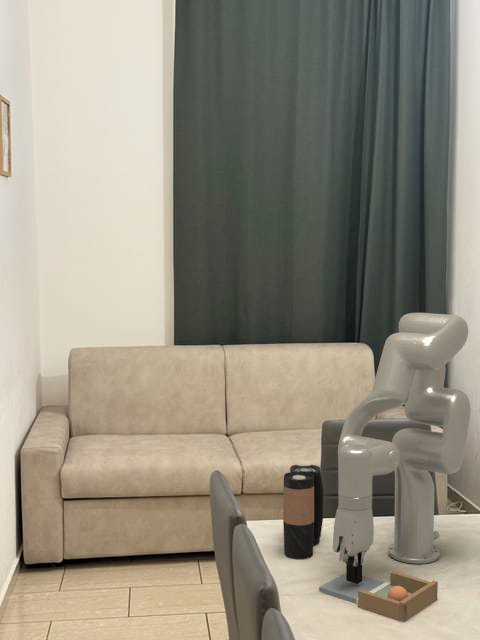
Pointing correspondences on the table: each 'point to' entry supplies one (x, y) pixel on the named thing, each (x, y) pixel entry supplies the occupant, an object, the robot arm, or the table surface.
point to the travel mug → (298, 515)
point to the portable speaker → (317, 497)
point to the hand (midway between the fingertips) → (354, 581)
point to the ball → (397, 593)
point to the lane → (385, 594)
